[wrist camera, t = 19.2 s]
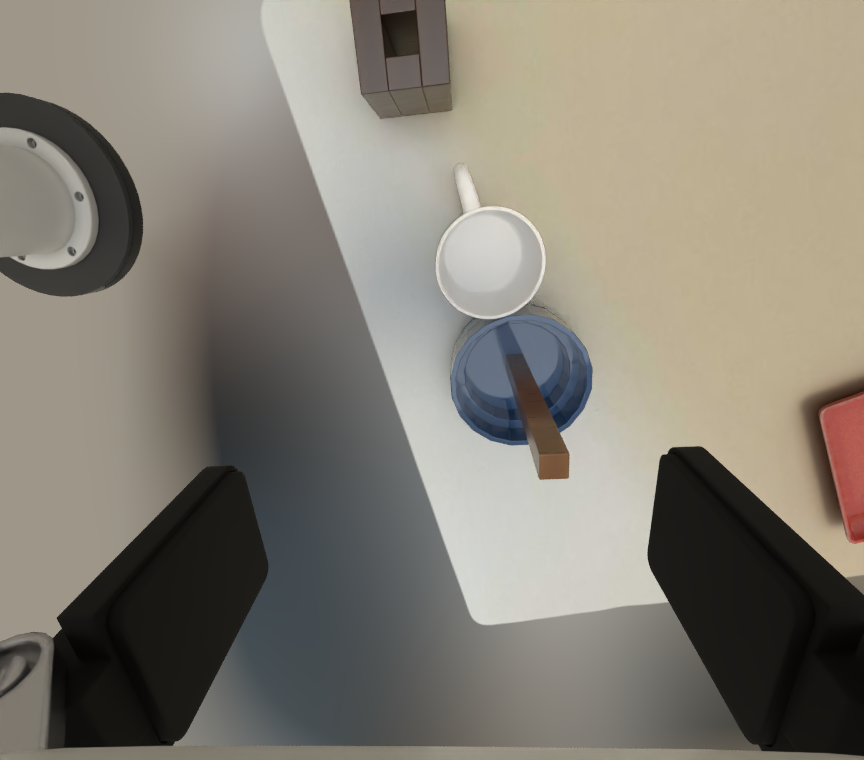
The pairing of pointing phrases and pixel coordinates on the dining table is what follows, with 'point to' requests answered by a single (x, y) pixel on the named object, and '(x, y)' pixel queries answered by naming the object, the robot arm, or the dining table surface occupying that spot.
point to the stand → (402, 55)
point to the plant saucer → (847, 459)
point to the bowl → (488, 381)
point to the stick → (537, 421)
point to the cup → (488, 257)
